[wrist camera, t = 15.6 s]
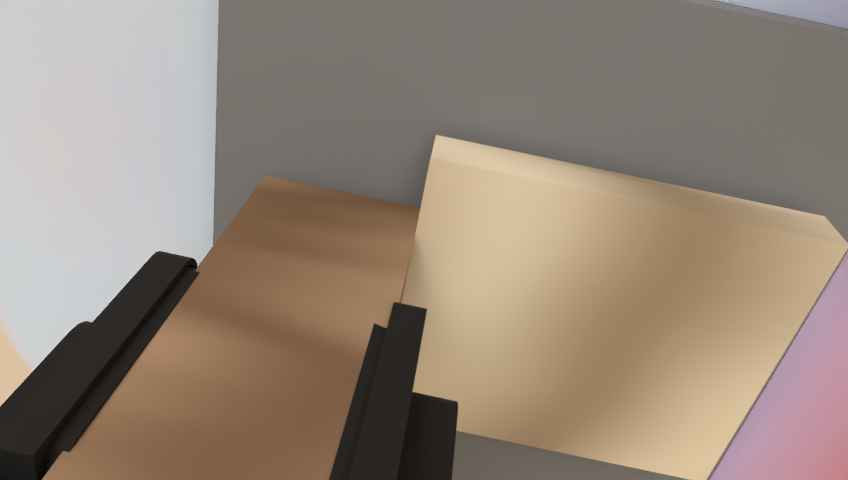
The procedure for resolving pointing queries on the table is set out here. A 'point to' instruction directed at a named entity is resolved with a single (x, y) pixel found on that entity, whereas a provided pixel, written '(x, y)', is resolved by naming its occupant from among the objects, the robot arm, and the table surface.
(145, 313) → the robot arm
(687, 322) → the wooden block pair
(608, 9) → the mat
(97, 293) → the table surface
